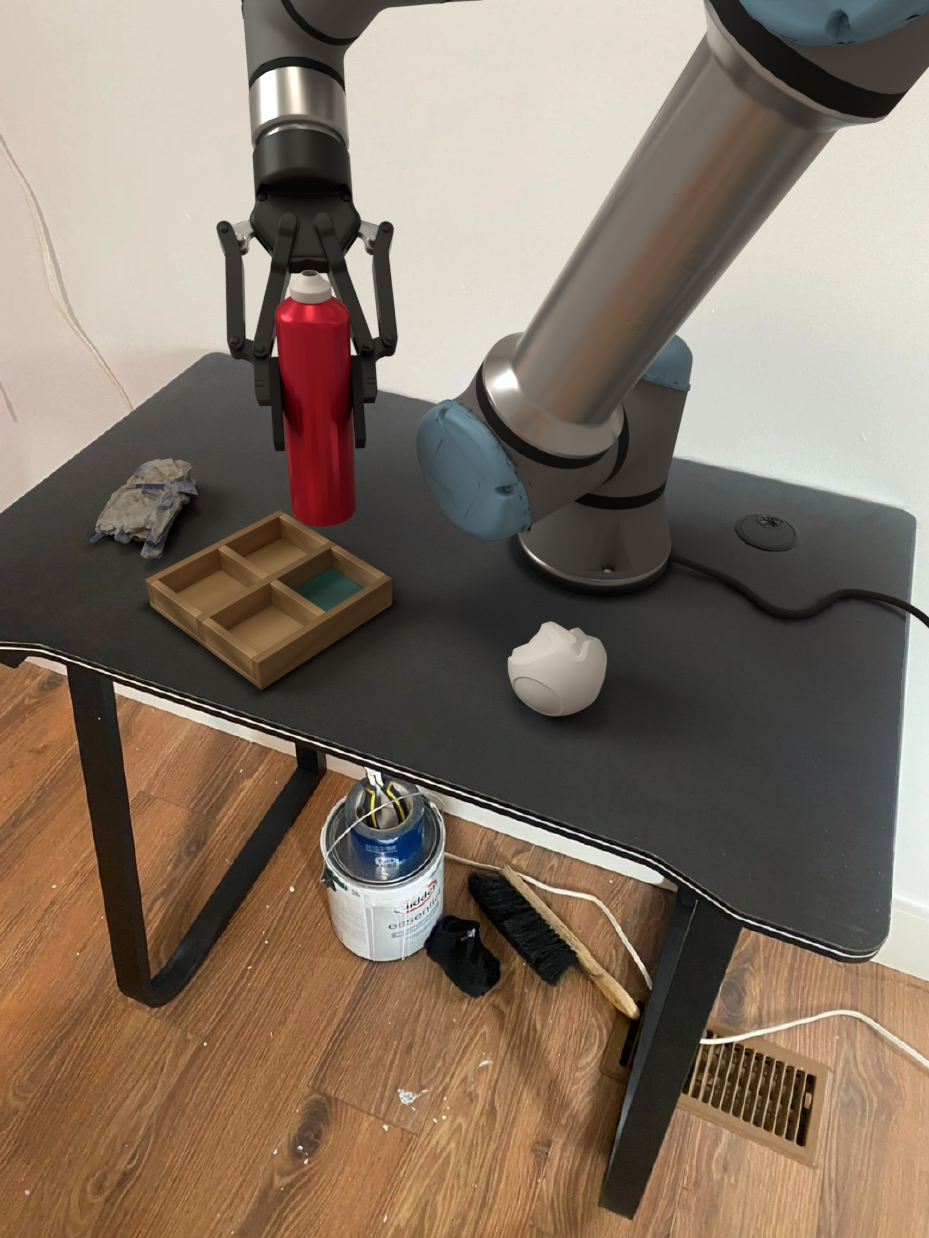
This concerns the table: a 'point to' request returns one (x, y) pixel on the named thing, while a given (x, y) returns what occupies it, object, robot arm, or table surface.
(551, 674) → the off-white rounded piece
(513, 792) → the table surface
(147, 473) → the crumpled cloth bundle
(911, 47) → the robot arm
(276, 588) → the wooden divided tray
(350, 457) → the bottle
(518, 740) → the table surface
